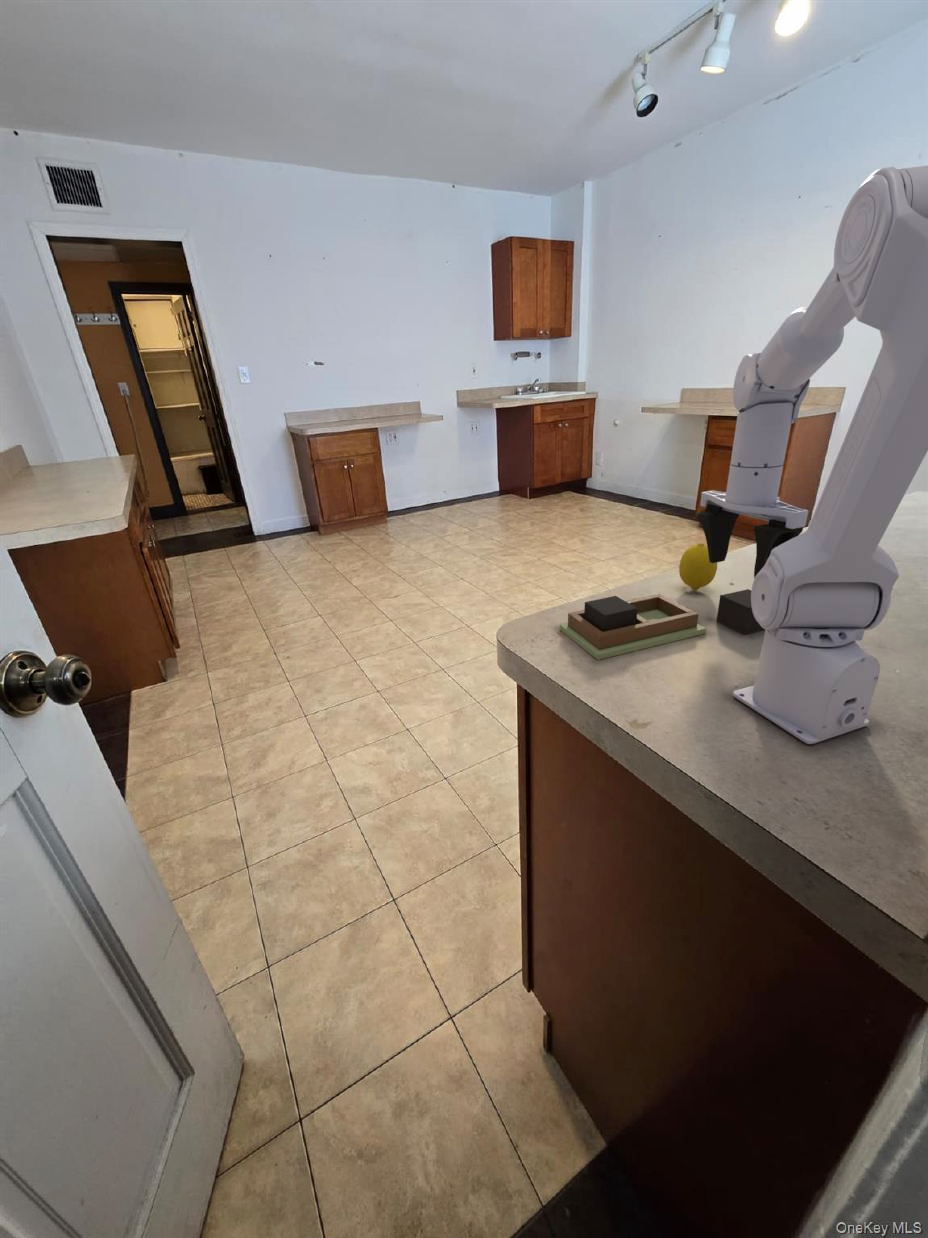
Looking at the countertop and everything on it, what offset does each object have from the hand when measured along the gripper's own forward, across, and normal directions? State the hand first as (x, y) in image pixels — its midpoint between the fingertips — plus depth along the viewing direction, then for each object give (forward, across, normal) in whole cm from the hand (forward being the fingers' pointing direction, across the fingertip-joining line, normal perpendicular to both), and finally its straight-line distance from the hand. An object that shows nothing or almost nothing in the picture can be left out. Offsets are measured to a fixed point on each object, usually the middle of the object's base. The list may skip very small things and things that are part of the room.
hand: (738, 569), depth 68 cm
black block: (+8, -1, -2) cm, 9 cm away
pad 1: (+8, +4, +17) cm, 19 cm away
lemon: (+8, +12, -5) cm, 16 cm away
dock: (+8, +4, +13) cm, 16 cm away
